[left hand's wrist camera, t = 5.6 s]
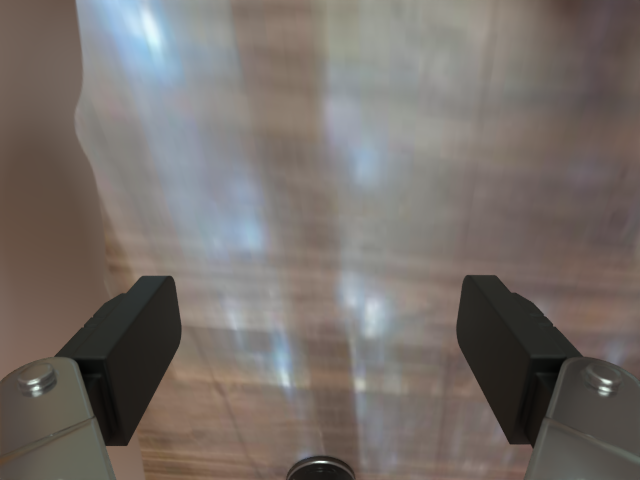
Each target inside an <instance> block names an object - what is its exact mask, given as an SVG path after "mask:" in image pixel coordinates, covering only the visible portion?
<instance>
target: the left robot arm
mask: <svg viewBox="0 0 640 480" xmlns="http://www.w3.org/2000/svg"><path fill="white" fill-rule="evenodd" d="M456 331H457V339H458V344H459V346H460V348H461V350H462V352H463V354H464V356H465V358H466V360H467V362H468V364H469V366H470V368H471V370H472V372H473V374H474V376H475V378H476V380H477V381H478V383H479V385H480V387H481V389H482V391H483V393H484V395H485V397H486V399H487V401H488V403H489V405H490V407H491V409H492V411H493V412H494V414H495V416H496V418H497V420H498V422H499V424H500V426H501V428H502V430H503V432H504V434H505V436H506V438H507V440H508V442H509V444H531V446H532V448H533V452H532V456H531V459H530V462H529V465H528V468H527V471H526V474H525V477H524V480H640V381H639V380H638V379H637V378H636V377H634V376H633V375H632V374H630V373H629V372H627V371H626V370H624V369H622V368H621V367H619V366H616V365H614V364H612V363H609V362H607V361H603V360H600V359H596V358H590V357H583V356H582V355H581V353H580V352H579V351H578V350H577V349H576V348H575V347H574V346H573V345H572V344H571V343H570V342H569V341H568V340H567V339H566V337H565V336H564V335H563V334H562V333H561V332H560V331H559V330H558V329H557V328H556V327H553V324H552V323H551V321H550V320H549V319H548V318H547V317H544V314H543V313H542V312H541V311H540V310H539V309H538V308H537V307H536V306H535V304H534V303H532V302H531V301H529V300H527V299H526V298H524V297H522V296H520V295H519V294H517V293H511V292H510V291H509V290H508V289H507V287H506V286H505V285H504V284H503V283H502V282H501V281H500V279H499V278H498V277H497V276H495V275H467V276H465V278H464V280H463V284H462V291H461V298H460V305H459V311H458V318H457V327H456ZM180 340H181V320H180V313H179V306H178V299H177V293H176V286H175V282H174V279H173V277H172V276H142V277H140V278H139V280H138V281H137V282H136V283H135V284H134V285H133V286H132V287H131V289H130V290H129V291H128V292H127V293H122V294H120V295H118V296H116V297H115V298H113V299H111V300H110V301H108V302H106V303H104V305H103V306H102V307H101V308H100V309H99V310H98V311H97V312H96V313H95V314H94V315H93V318H90V319H89V320H88V321H87V322H86V324H85V325H84V328H81V329H80V330H79V331H78V332H77V333H76V334H75V335H74V336H73V337H72V338H71V339H70V340H69V341H68V343H67V344H66V345H65V346H64V347H63V348H62V349H61V350H60V351H59V352H58V353H57V354H56V355H55V356H54V357H50V358H44V359H40V360H37V361H33V362H31V363H28V364H26V365H24V366H21V367H19V368H18V369H16V370H14V371H13V372H11V373H10V374H8V375H7V376H6V377H4V378H3V379H2V380H1V381H0V480H116V477H115V474H114V471H113V468H112V465H111V462H110V459H109V456H108V453H107V449H106V446H127V445H128V443H129V441H130V439H131V437H132V435H133V433H134V431H135V429H136V428H137V426H138V424H139V422H140V420H141V418H142V416H143V414H144V412H145V410H146V408H147V406H148V405H149V403H150V401H151V399H152V397H153V395H154V393H155V391H156V389H157V387H158V385H159V383H160V382H161V380H162V378H163V376H164V374H165V372H166V370H167V368H168V366H169V364H170V362H171V360H172V359H173V357H174V355H175V353H176V351H177V349H178V347H179V344H180ZM286 480H356V478H355V474H354V472H353V470H352V469H351V468H350V467H349V466H348V465H347V464H346V463H344V462H342V461H340V460H338V459H335V458H332V457H325V456H317V457H310V458H307V459H304V460H302V461H300V462H298V463H296V464H295V465H294V466H293V467H292V468H291V469H290V471H289V472H288V474H287V478H286Z"/></svg>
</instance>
